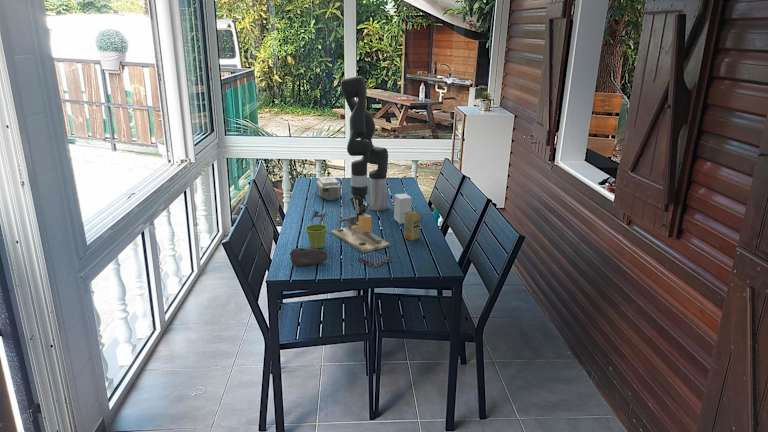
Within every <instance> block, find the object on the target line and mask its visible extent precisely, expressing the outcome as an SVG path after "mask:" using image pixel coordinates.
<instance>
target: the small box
mask: <svg viewBox="0 0 768 432" xmlns="http://www.w3.org/2000/svg"><path fill="white" fill-rule="evenodd" d="M393 197H394V199H393V200H394V201H393V219H394V220H395V221H396V222H397V223H398V224H399V225H401V224H403V225H404V213H406V212H409V211H413V210H412V209H413V208H412V207H413V206H412V205H413V202H412V201H413V197H411V196H410V195H408V194H407V193H397V194H396V193H395V194H394V195H393Z"/></svg>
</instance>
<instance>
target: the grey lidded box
mask: <svg viewBox="0 0 768 432" xmlns="http://www.w3.org/2000/svg"><path fill="white" fill-rule="evenodd" d="M315 183H316V191H317V193H318V196H319V197H321V198H322V199H323V200H327V201H336V200H337V198H340V196H341V187H342V186H341V184H340V183H339V181H338V180H337V179H336V178H335V177H334V176H332V175H331V176H318V177H317V180H316V182H315Z"/></svg>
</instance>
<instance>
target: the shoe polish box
mask: <svg viewBox="0 0 768 432" xmlns="http://www.w3.org/2000/svg"><path fill="white" fill-rule="evenodd" d="M420 220H421V213H420V212H418V211H414V210H411V211H409V212H406V213H404V223H403V225H404V226H403V227H404V228H403V238H404V239H407V240H409V241H414V240H417V239H419V238H420V226H421V224H420V222H421V221H420Z"/></svg>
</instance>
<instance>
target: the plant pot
mask: <svg viewBox="0 0 768 432" xmlns="http://www.w3.org/2000/svg"><path fill="white" fill-rule="evenodd" d="M327 230H328V226H327V225H326V224H322V223H321V224H319V223H316V224H315V223H314V224H309V225H308V226H306V227H305V231H306V234H307V236H308V242H309V243H308V244H309V248H312V249H322V248H324V247H325V243H326V241H325V240H326V233H327Z"/></svg>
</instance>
